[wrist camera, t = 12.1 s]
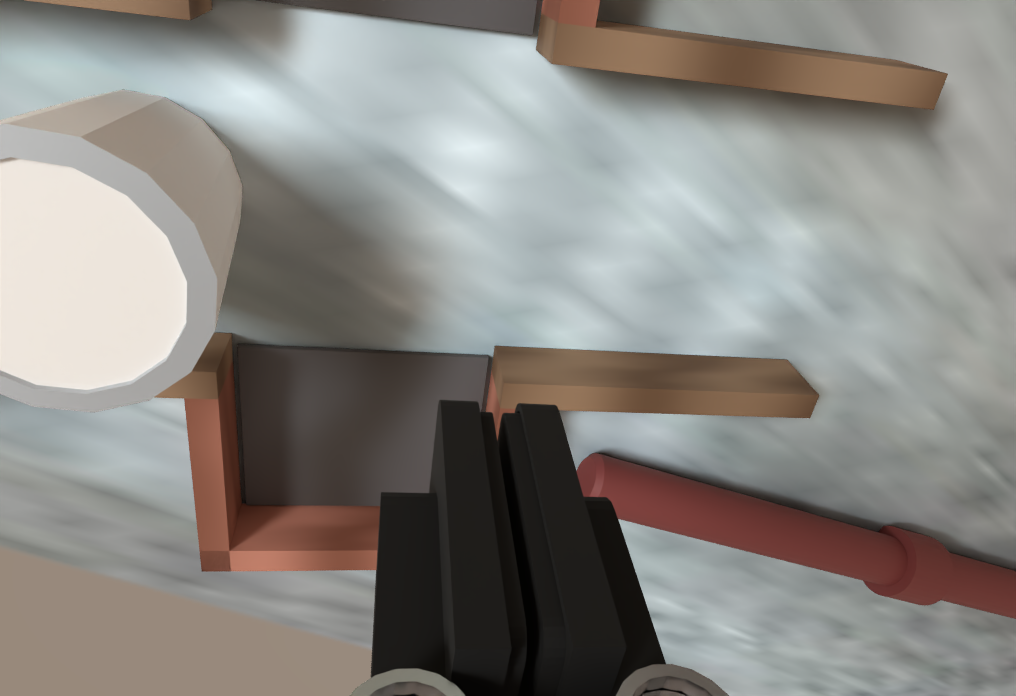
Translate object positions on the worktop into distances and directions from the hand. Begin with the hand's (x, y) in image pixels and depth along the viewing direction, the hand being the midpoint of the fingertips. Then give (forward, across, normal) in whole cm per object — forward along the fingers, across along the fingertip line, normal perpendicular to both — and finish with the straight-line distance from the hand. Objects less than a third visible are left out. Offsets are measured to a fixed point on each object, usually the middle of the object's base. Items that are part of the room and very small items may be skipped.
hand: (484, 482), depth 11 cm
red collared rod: (+15, -28, +18) cm, 36 cm away
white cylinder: (+14, +9, +1) cm, 17 cm away
